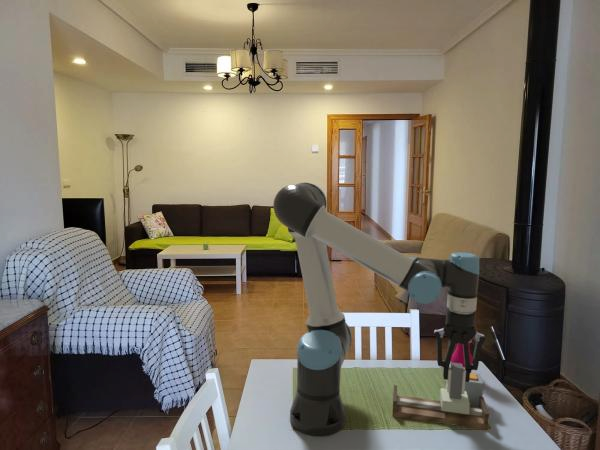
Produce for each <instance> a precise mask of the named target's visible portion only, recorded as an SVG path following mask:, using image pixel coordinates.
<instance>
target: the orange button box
mask: <svg viewBox="0 0 600 450" xmlns="http://www.w3.org/2000/svg"><path fill="white" fill-rule="evenodd" d="M471 373H472V374H476V376H477V381H473V380H469V382H465V391H466V392H467V396H468V400H469V403H470V405H475V406H479V396H482V397H484V396H483V395H484V394H483V393H484V381H483V378H482V375H481V373H477V372H471Z"/></svg>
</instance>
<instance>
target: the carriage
mask: <svg viewBox="0 0 600 450" xmlns="http://www.w3.org/2000/svg"><path fill="white" fill-rule="evenodd" d="M450 366H451V370H452V371H451V385H450V392H447V389H446V388H443V387H441V388H440V390H439V392H440V393H439V401H441V408H442V411H447V412H454V413H461V414H469V408H470V403H469V400H468V396H467V392H466V391H464V394H462V381H463V365H462V364H460V363H451V362H450Z"/></svg>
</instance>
